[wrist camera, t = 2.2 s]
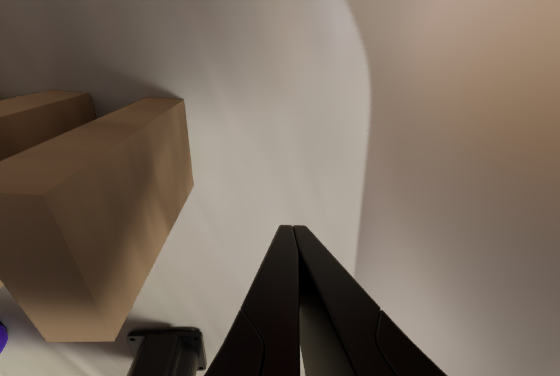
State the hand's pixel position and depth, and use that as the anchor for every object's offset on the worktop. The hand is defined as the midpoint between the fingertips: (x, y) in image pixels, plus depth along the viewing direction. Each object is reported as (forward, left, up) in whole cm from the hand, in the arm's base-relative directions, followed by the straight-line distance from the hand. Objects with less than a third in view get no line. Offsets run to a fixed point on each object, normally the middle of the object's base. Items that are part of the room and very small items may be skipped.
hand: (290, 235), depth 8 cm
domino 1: (0, +6, -7) cm, 9 cm away
